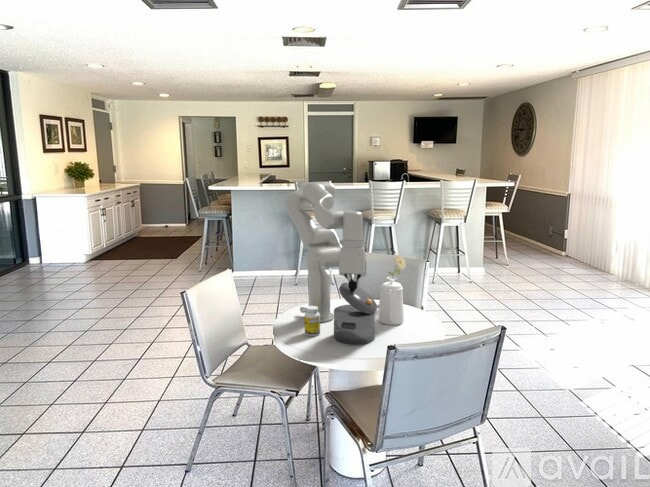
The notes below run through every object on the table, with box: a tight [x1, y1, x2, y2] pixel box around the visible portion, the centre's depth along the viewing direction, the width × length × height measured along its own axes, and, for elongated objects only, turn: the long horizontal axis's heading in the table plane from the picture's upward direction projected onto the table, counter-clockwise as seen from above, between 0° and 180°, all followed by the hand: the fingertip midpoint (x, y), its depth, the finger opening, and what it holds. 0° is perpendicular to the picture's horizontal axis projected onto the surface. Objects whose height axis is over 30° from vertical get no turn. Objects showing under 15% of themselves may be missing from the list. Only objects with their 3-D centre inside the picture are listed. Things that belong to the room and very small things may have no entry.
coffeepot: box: [377, 279, 405, 326], centre depth 202 cm, size 11×25×19 cm, turn 168°
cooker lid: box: [338, 282, 378, 314], centre depth 183 cm, size 17×17×3 cm
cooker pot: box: [333, 304, 376, 346], centre depth 186 cm, size 16×21×11 cm
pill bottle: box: [304, 305, 321, 337], centre depth 189 cm, size 6×6×11 cm
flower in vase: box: [379, 253, 407, 304], centre depth 224 cm, size 13×11×25 cm
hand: (352, 290), depth 183 cm, fingers closed
